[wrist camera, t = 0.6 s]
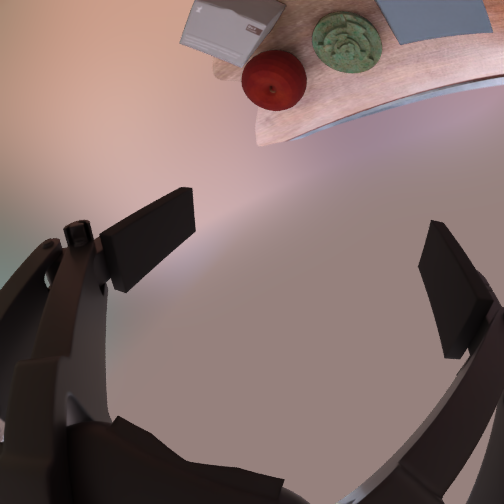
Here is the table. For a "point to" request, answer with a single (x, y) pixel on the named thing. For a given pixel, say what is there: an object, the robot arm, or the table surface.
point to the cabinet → (434, 18)
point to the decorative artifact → (347, 42)
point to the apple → (274, 80)
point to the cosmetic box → (230, 27)
